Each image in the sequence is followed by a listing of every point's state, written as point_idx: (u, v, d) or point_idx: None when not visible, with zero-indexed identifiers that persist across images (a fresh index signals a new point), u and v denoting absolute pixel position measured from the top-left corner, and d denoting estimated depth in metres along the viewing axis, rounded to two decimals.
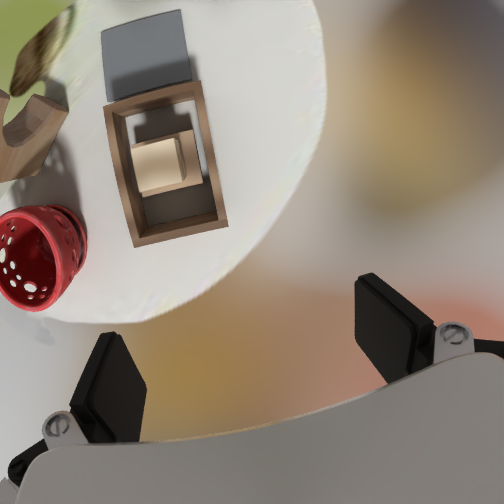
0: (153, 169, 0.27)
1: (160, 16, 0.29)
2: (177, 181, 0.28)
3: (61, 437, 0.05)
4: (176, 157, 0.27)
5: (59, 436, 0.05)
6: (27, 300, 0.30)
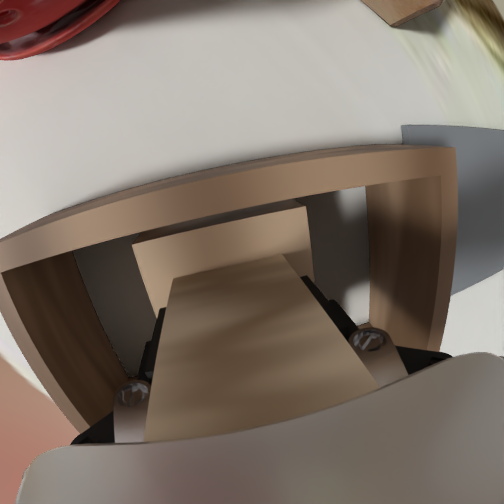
0: None
1: None
2: None
3: (132, 408, 0.06)
4: None
5: (130, 406, 0.06)
6: None
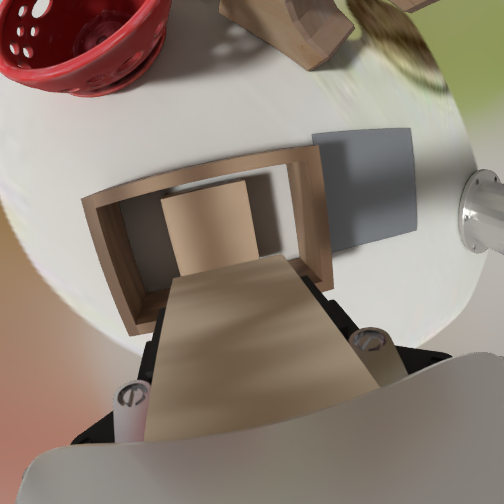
0: None
1: (414, 206, 0.29)
2: None
3: (132, 408, 0.06)
4: None
5: (130, 406, 0.06)
6: (17, 7, 0.09)
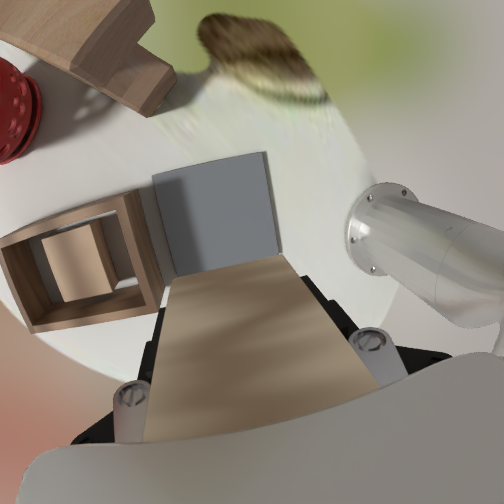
0: None
1: (271, 232, 0.33)
2: None
3: (131, 408, 0.06)
4: None
5: (130, 406, 0.06)
6: None
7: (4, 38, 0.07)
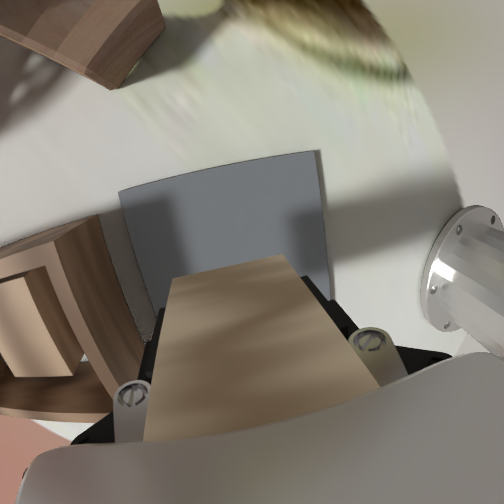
0: None
1: (324, 286, 0.20)
2: None
3: (131, 408, 0.06)
4: None
5: (130, 406, 0.06)
6: None
7: None
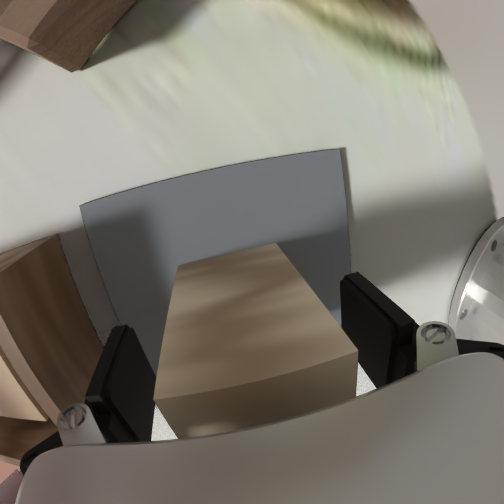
0: None
1: None
2: None
3: (75, 429, 0.05)
4: None
5: (74, 428, 0.05)
6: None
7: None
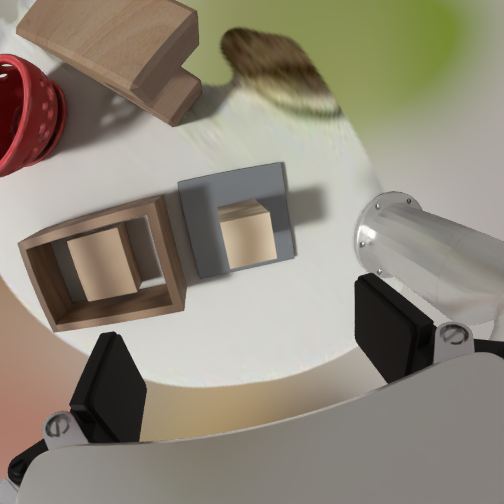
0: (244, 238, 0.26)
1: (288, 236, 0.36)
2: (230, 264, 0.27)
3: (61, 437, 0.05)
4: (256, 262, 0.27)
5: (59, 436, 0.05)
6: None
7: (53, 48, 0.10)
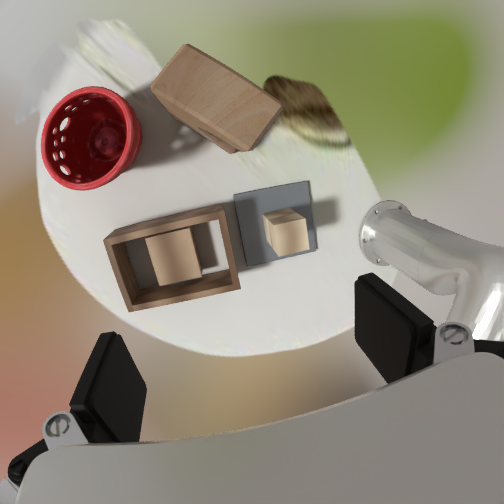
0: (289, 236, 0.39)
1: (312, 235, 0.48)
2: (279, 253, 0.40)
3: (61, 437, 0.05)
4: (295, 251, 0.40)
5: (59, 436, 0.05)
6: (51, 131, 0.28)
7: (190, 113, 0.22)
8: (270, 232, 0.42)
